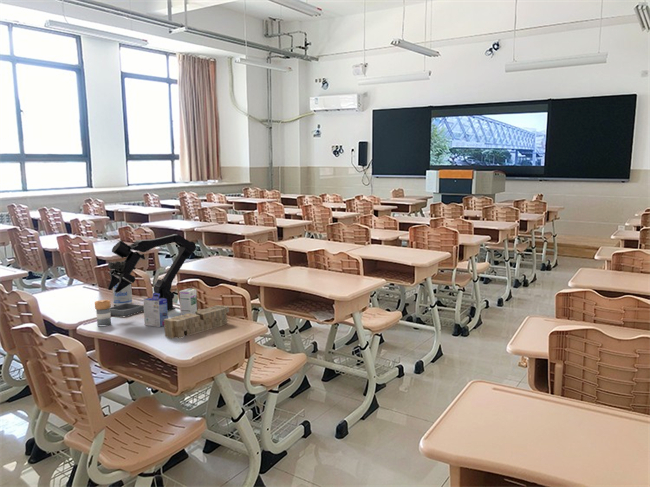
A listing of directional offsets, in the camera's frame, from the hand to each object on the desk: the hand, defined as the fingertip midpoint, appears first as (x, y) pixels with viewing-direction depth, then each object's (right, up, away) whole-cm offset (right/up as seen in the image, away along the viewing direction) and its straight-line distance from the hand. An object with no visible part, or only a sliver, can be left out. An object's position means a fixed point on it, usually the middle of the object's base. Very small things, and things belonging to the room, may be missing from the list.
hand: (112, 291), depth 235 cm
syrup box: (+37, -14, -1) cm, 40 cm away
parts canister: (-1, -15, -6) cm, 16 cm away
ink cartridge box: (+24, -15, -9) cm, 30 cm away
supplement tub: (-9, -11, +34) cm, 37 cm away
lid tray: (0, -13, +15) cm, 19 cm away
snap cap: (-1, -7, -7) cm, 10 cm away
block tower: (+46, -16, -18) cm, 51 cm away
